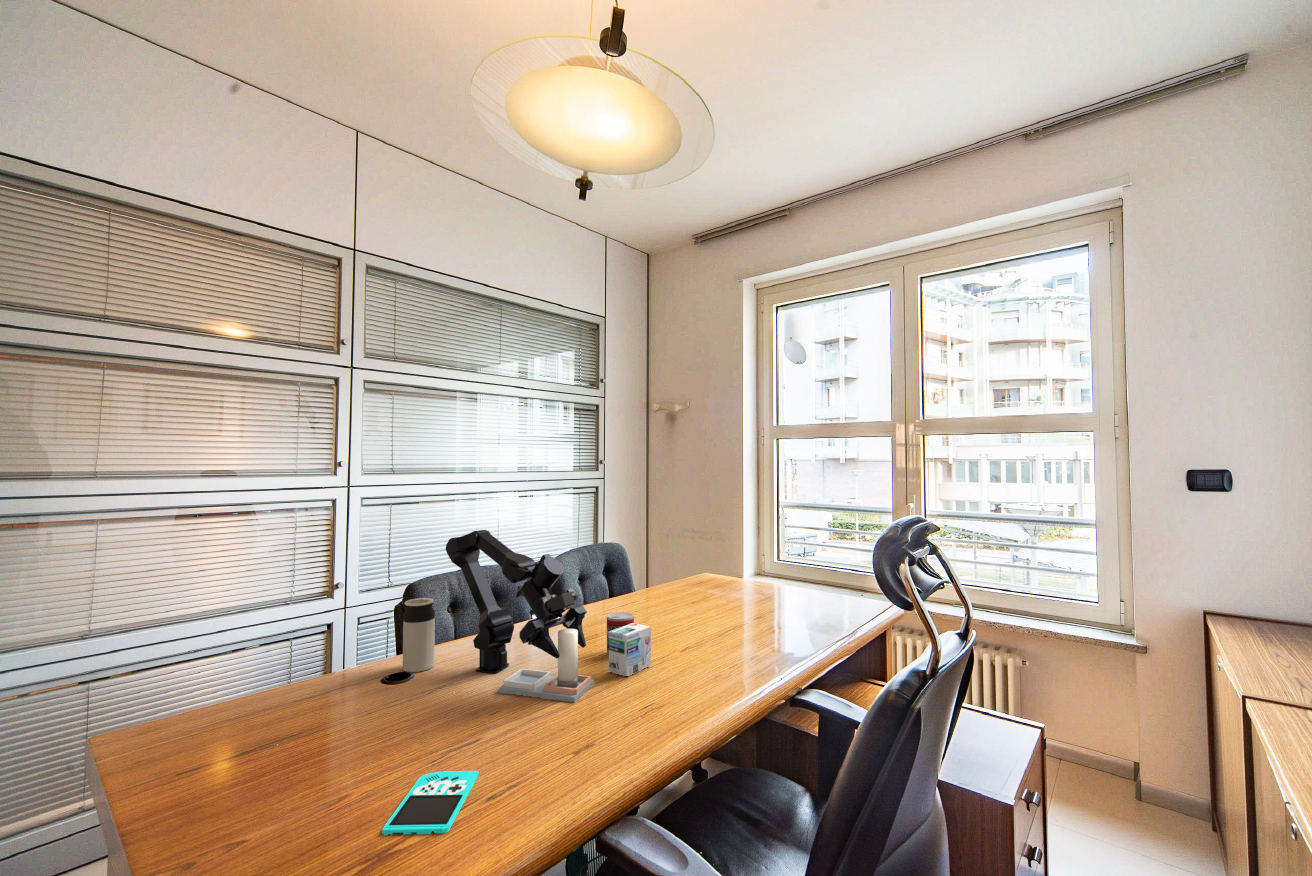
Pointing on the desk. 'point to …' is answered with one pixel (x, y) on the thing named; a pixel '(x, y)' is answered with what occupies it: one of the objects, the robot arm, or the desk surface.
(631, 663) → the light bulb box
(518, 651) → the desk surface
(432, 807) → the handheld game console
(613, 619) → the canned food
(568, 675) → the white cylinder
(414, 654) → the travel mug
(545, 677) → the socket board
